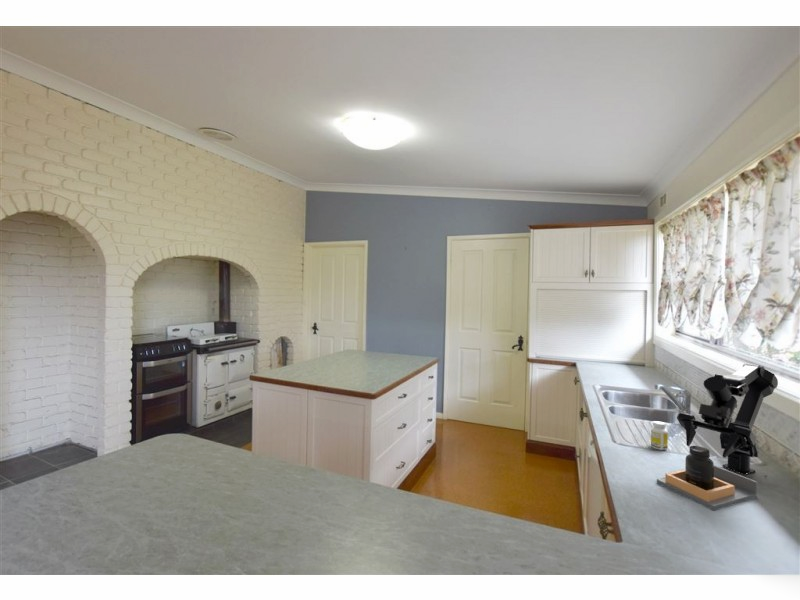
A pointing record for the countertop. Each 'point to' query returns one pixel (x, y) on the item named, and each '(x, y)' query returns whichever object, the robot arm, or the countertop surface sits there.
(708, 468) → the supplement bottle
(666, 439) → the supplement bottle
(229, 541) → the countertop surface
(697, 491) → the housing
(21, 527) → the countertop surface
